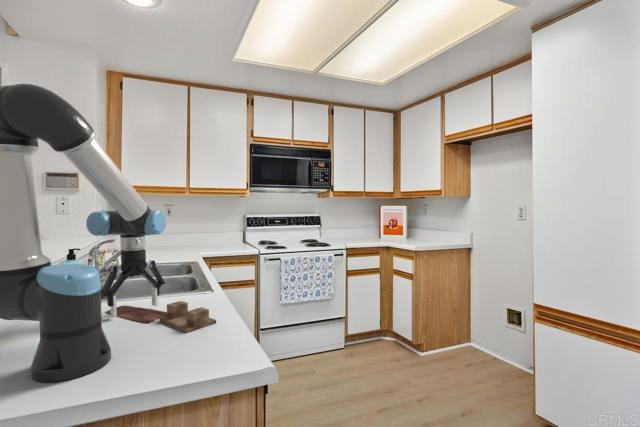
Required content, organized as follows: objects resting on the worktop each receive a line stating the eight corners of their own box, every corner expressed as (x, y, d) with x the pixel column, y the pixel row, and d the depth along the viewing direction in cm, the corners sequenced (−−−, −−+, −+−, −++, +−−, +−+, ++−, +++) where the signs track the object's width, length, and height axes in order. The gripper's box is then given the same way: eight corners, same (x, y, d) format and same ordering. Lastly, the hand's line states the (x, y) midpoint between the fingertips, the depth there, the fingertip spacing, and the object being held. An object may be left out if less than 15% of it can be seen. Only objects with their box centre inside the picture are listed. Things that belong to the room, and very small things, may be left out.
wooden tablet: (99, 309, 119) (126, 299, 128) (100, 315, 119) (127, 304, 128) (147, 322, 106) (173, 309, 115) (147, 328, 107) (174, 315, 115)
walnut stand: (186, 333, 99) (186, 316, 99) (159, 321, 109) (159, 306, 108) (216, 323, 107) (215, 307, 106) (188, 313, 116) (187, 299, 116)
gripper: (96, 254, 104) (98, 322, 105) (173, 245, 124) (175, 303, 124) (87, 252, 109) (89, 317, 109) (163, 244, 128) (164, 299, 129)
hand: (135, 310), depth 117 cm, fingers open, 13 cm apart
